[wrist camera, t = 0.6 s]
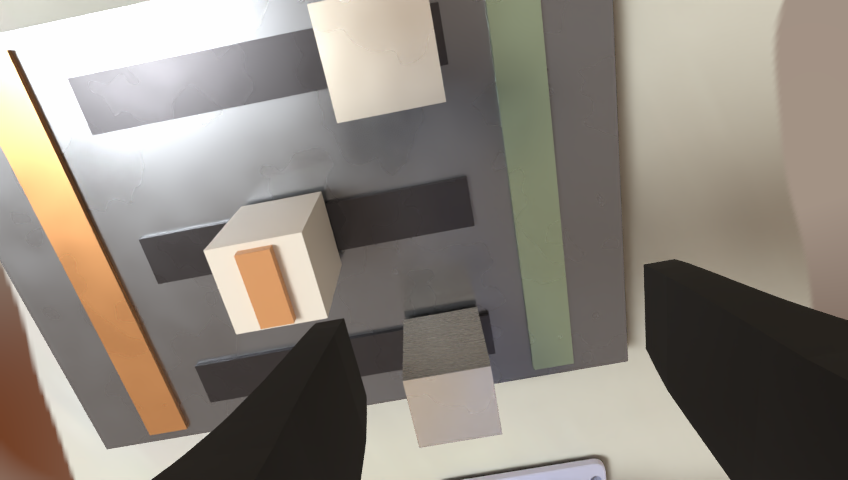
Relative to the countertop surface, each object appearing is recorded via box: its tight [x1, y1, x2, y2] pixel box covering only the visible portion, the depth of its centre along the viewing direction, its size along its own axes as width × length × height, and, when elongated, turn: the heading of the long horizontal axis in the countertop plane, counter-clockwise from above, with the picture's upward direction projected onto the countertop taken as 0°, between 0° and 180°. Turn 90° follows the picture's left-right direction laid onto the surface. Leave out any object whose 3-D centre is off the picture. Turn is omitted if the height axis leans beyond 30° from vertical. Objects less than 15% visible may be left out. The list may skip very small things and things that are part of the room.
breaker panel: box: [0, 0, 628, 449], centre depth 18 cm, size 16×22×5 cm
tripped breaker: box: [203, 191, 342, 334], centre depth 17 cm, size 3×3×4 cm
